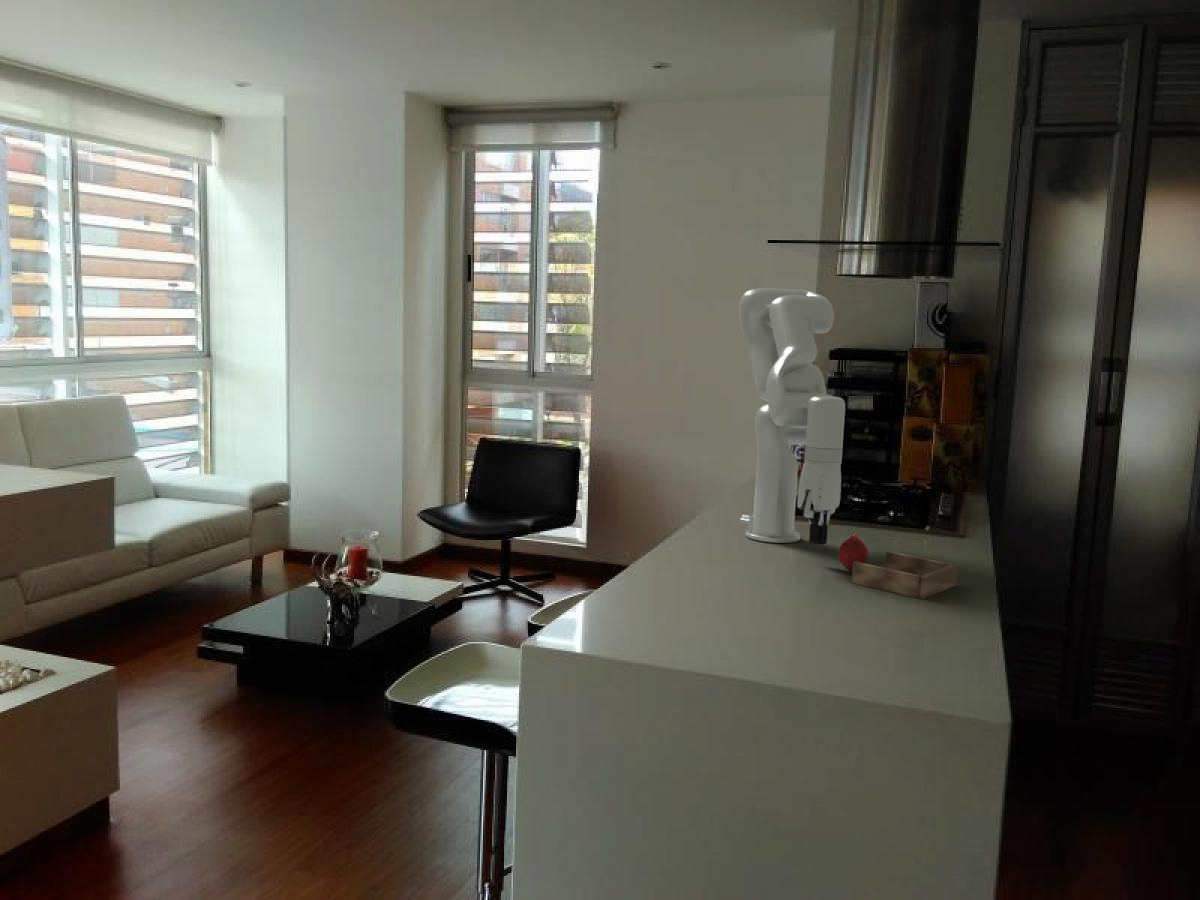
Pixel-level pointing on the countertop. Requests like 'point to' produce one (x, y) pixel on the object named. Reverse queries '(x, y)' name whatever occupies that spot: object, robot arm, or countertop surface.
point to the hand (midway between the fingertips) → (817, 542)
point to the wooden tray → (907, 575)
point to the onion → (852, 552)
